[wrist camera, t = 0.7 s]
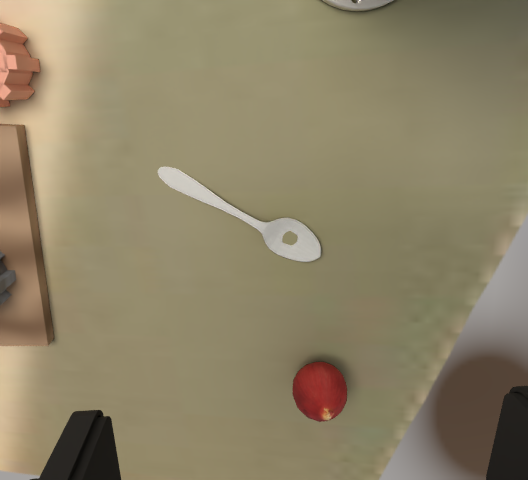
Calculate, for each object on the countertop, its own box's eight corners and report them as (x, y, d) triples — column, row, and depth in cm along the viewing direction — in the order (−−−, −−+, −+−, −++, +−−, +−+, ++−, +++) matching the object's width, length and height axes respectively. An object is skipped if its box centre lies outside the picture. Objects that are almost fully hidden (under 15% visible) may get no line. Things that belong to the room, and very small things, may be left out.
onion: (336, 388, 49) (354, 442, 41) (287, 390, 48) (297, 444, 41) (339, 346, 47) (359, 395, 39) (289, 347, 46) (300, 397, 39)
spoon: (307, 267, 44) (310, 273, 42) (124, 175, 39) (119, 178, 38) (328, 234, 43) (331, 240, 41) (142, 136, 38) (138, 138, 36)
